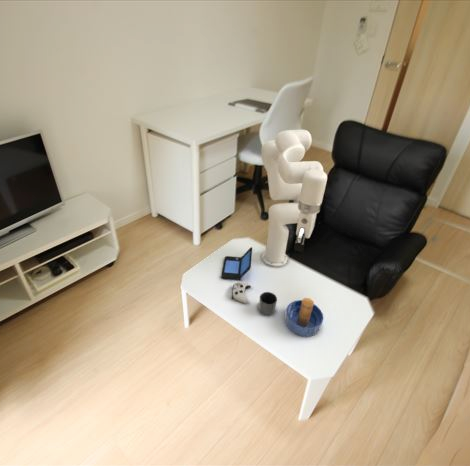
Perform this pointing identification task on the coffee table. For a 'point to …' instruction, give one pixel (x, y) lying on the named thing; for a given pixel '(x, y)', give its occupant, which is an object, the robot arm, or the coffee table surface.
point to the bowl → (313, 323)
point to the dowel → (305, 312)
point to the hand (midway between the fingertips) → (301, 243)
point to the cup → (267, 303)
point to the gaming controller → (240, 292)
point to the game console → (236, 266)
